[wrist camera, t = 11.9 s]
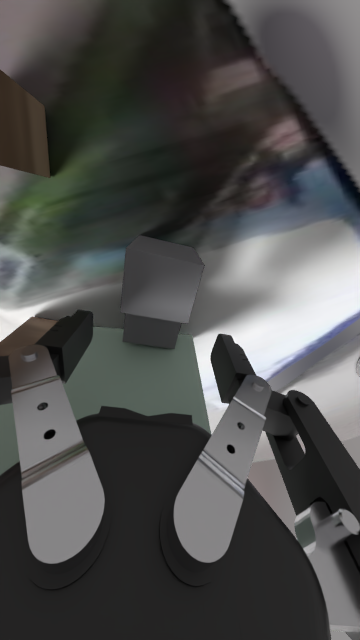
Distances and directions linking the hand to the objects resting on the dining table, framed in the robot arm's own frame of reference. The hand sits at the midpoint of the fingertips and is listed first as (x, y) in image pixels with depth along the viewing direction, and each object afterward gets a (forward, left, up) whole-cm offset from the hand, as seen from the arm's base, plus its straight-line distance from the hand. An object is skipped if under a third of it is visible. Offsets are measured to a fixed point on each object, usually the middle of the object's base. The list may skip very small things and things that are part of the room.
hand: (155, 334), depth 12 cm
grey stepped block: (0, 0, -9) cm, 9 cm away
